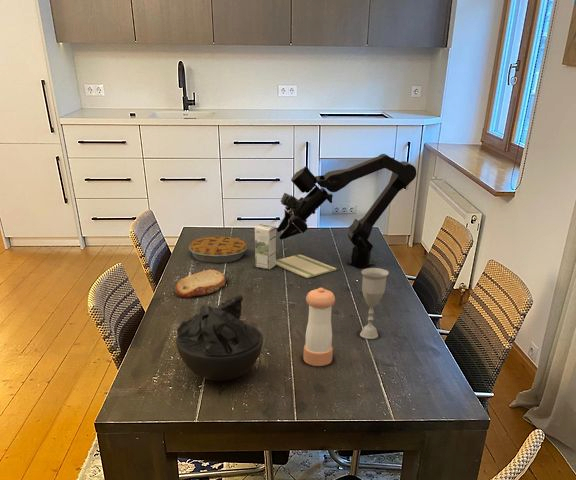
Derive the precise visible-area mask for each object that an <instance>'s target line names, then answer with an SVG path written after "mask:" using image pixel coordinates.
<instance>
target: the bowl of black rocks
mask: <svg viewBox="0 0 576 480" xmlns="http://www.w3.org/2000/svg"><path fill="white" fill-rule="evenodd" d="M243 298H244V297H243V295H242V294H238V295H236V296H233V297H231V298H229V299H227V300H225V301H224V302H221V303H220V304H218V305H217V306H216V307H213V306H211V305H206V306H205V305H204V304H201V306H200V308H199V310H198V311H199V312H198V313H196V314H194V315H193V316H191V317H190V318H188V319H187V320H182V321H181V323H180V324H179V325H178V327H177V329H176V335H177V336H176V340H175V344H176V349H177V352H178V354H179V356H180V359H181V360H182V362H183V364H184V365H185V366H186V367H187V368H188V369H189V371H191V372H193V373H194V374H195V375H197V376H199V377H201V378H202V379H204V380H205V379H206V380H208V381H213V382H227V381H231V380H235V379H238V378H240V377H241V376H243V375H244V374H246V373H247V372H248V371H249V370H251V368H252V367H254V365H255V364H256V362H257V361H258V359H259V357H260V355H261V353H262V349H263V344H264V337H263V333H261V331H260V330H258V328H256V327H255V326H252V325H250V324H248V323H246V322H245V321H244V320H241V319H240V318H241V316H242V309H243V306H242V302H243V300H244V299H243Z"/></svg>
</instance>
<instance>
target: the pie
mask: <svg viewBox="0 0 576 480" xmlns="http://www.w3.org/2000/svg"><path fill="white" fill-rule="evenodd" d="M247 249H248V244H247V242H246V241H245V240H243V239H241V238H239V237H232V236H229V235H226V236H222V235H216V236H205V237H198V238H196V240H195V239H193V240H191V243H189V245H188V251H190V252H191V254H192V256H193V258H195V259H196V260H197V261H200V262H204V263H214V264H217V263H218V264H220V263H230V262H236V261H238V260H240V259H241V258H242V257H244V254H245V252H246V250H247Z"/></svg>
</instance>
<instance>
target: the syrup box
mask: <svg viewBox="0 0 576 480" xmlns="http://www.w3.org/2000/svg"><path fill="white" fill-rule="evenodd" d="M276 245H277V226H276V225H272V224H267V223H260V224H258V225H256V226H255V227H254V264H255V265H254V267H255V268H257V269H263V270H271V269H273V268H274V267H276V266H277V265H276V260H277V257H276V256H277V255H276V253H277V250H276V249H277V246H276Z"/></svg>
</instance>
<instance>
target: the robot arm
mask: <svg viewBox="0 0 576 480" xmlns="http://www.w3.org/2000/svg"><path fill="white" fill-rule="evenodd" d="M384 169H386V170H387V171H390V172H392V173H391V175H390V178H389V181H388V183H387V185H386V187H385V188H384V189H383V190H382V191H381V193H380V194H379V195H378V197H377V198H376V200H375V201H374V202H373V204H372V205H371V206H370V208H369V209H368V211H367V212H366V213H365V215H364V216H363V217H361V218H360V219H357V218H354V220H353V221H352V223H351V224H350V225H349V226H348V230H347V238H348V239H349V241H350V243H352V245H353V248H352V252H351V261H348V265H350V266H354V267H356V268H359V269H363V268H366V267H370V266H373V265H374V263H373V262H370V261H371V252H372V250H373V247H374V246H373V245H374V244H372V242H371V241H370V240H369V238H370V237H371V233H372V231H373V228H374V225H375V224H376V223H377V221H378V220H379V219H380V217H381V216H382V215H383V213H384V212H385V210H386V209H387V208H388V207H389V206H390V204H391V203H392V201H393V200H394V199H395V198H396V196H397V195H398V193H399V192H400V191H402V190H403V189H405V188H406V187H407V186H409V185H410V184H411V183H412V182H413V181H414V180H415V179H416V177H417V169H416V167H415V165H413V164H412V163H410V162H408V161H405V160H403V161H398V160H397V159H395V158H393V157H390V156H389V155H388V154H386V153H381V154H379V155H378V156H375V157H372V158H371V159H367V160H366V161H363V162H360V163H358V164H355V165H353V166H351V167H347V168H343V169H335V170H330V171H328V172H325V173H324V174H322V175H314V173H312V172H311V171H310V169H309V167H308V166H307V165H304V167H302V168H301V169H300V170H298V171H296V172H294V174H293V175H292V177H291V179H290V181H291V182H292V183H293V185H294V186H295V187H296V188H297V189H298V190H299V191H300V192H301V193H302V194H304V193H306V195H305V196H304V197H300V198H297V197H296V196H293V195H291V194H288V193H286V192H284V193H283V195H282V197H281V199H280V203H281V205H283V206H285V207H284V208H285V209H284V211H283V212H284V216H283V218H282V220H281V221H280V223H279V224H278V226H277V227H276V232H277V233H280V232H282V233H280V235H279V237H278V239H279V240H280V241H282V240H284V239H287V238H291V237H293V236H296V235H299V234H304V233H305V232H307V230H308V224H307V222H308V219H309V217H311V215H315V214H316V213H317V212H316V211H317V210H318V209H319V208H320V207H321V206H322V205H323V204H324V203H325V202H326V201H328V202H329V203H330V204H332V203H333V195H334V194H332V193H337V192H339V191H340V190H342V189H344V188H345V187H347V186H348V185H349V184H350V183H352V182H353V181H356V180H358V179H361V178H363V177H365V176H368V175H370V174H373V173H376V172H378V171H381V170H384ZM329 192H330V193H329Z"/></svg>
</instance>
